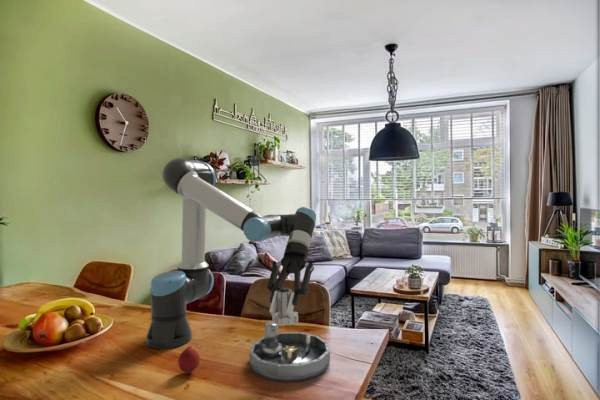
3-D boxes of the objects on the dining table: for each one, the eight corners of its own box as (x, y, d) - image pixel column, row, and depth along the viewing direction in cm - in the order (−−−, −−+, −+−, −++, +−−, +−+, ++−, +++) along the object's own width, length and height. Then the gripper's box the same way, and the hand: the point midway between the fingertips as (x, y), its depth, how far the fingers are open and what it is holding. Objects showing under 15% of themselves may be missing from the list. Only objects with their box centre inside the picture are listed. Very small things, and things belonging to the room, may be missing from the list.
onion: (193, 379, 100) (192, 350, 100) (174, 377, 101) (174, 349, 101) (203, 369, 105) (202, 342, 105) (185, 367, 106) (184, 340, 106)
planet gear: (271, 326, 101) (271, 294, 101) (273, 317, 109) (272, 287, 109) (298, 325, 101) (297, 293, 101) (297, 316, 109) (297, 286, 109)
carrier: (245, 383, 97) (244, 344, 97) (255, 345, 121) (254, 315, 121) (333, 381, 98) (333, 343, 97) (325, 344, 122) (325, 314, 121)
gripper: (325, 255, 117) (312, 323, 101) (276, 253, 122) (256, 317, 107) (321, 241, 111) (306, 310, 96) (269, 240, 117) (247, 305, 102)
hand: (280, 314), depth 101 cm, fingers closed on planet gear, 4 cm apart
